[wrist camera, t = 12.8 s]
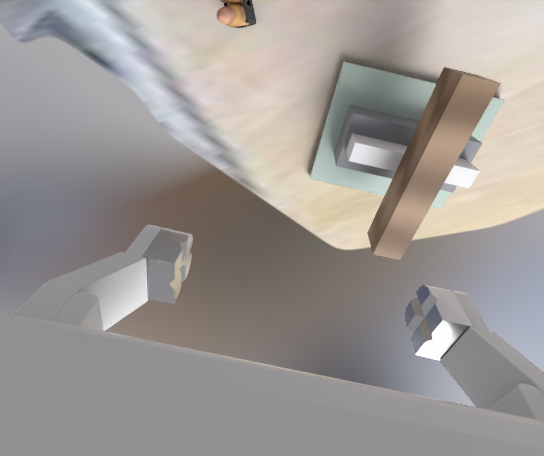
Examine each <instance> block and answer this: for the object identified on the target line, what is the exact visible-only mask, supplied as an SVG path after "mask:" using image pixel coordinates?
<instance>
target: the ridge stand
mask: <svg viewBox="0 0 544 456" xmlns="http://www.w3.org/2000/svg"><path fill="white" fill-rule="evenodd" d="M436 84H437V83H434V82H430V81H426V80H421V79H417V78H413V77H409V76H405V75H400V74H396V73H392V72H388V71H384V70H379V69H375V68H371V67H367V66H363V65H358V64H354V63H350V62H346V61H343V63H342V67H341V70H340V74H339V77H338V81H337V84H336V87H335V91H334V94H333V98H332V101H331V105H330V108H329V111H328V115H327V118H326V122H325V125H324V128H323V132H322V135H321V139H320V142H319V146H318V149H317V152H316V156H315V159H314V163H313V166H312V169H311V173H310V179H312V180H316V181H321V182H325V183H330V184H334V185H339V186H343V187H348V188H352V189H356V190H361V191H365V192H370V193H374V194H379V195H383V196H385V194H386V192H387V190H388V188H389V185H390V183H391V181H392V179H393V177H394V175H395V172H396V170H397V168H398V166H399V164H400V162H401V159H402V157H403V155H404V153H405V151H406V149H407V146H408V144H409V142H410V140H411V138H412V136H413V133H414V131H415V129H416V127H417V125H418V123H419V121H420V118H421V116H422V114H423V112H424V110H425V108H426V105H427V103H428V101H429V99H430V97H431V95H432V92H433V90H434V88H435V86H436ZM504 102H505V100H503V99H500V98H497V97H493V98H492V100H491V101H490V103H489V105H488V107H487V109H486V110H485V112H484V114H483V116H482V117H481V119H480V121H479V123H478V124H477V126H476V128H475V130H474V131H473V133H472V135H471V137H470V138H469V140H468V142H467V144H466V145H465V147H464V149H463V151H462V152H461V154H460V156H459V158H458V159H457V161H456V163H455V165H454V166H453V168H452V170H451V172H450V173H449V175H448V177H447V179H446V180H445V182H444V184H443V186H442V187H441V189H440V191H439V193H438V194H437V196H436V198H435V200H434V201H433V203H432V205H431V206H432V207H436V208H442V206H443V204H444V202H445V201H446V199H447V197H448V196H449V194H450V192H452V193H453V191H454V190H455V188H456V186H461V187H465V188H470V186H471V184H472V183H473V181H474V180H475V178H476V176H477V175H478V173H479V172H480V171H479V170H478V169H477V168H476V167H475V166H474V165H473V164H471V161H472V160H473V158H474V156H475V155H476V153H477V151H478V150H479V148H480V146H481V145H482V143H481V140H482V139H483V137H484V135H485V133H486V132H487V130H488V128H489V127H490V125H491V123H492V122H493V120H494V118H495V117H496V115H497V113H498V112H499V110H500V108H501V107H502V105H503V103H504Z"/></svg>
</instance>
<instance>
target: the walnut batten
mask: <svg viewBox="0 0 544 456" xmlns="http://www.w3.org/2000/svg"><path fill="white" fill-rule="evenodd" d="M500 84H501V83H498V82H495V81H492V80H489V79H487V78H484V77H481V76H478V75H474V74H470V73H466V72H462V71H458V70H454V69H450V68H445V67H444V69H443V71H442V73H441V75H440V77H439V79H438V82H437V84H436V86H435V88H434V90H433V92H432V95H431V97H430V99H429V101H428V103H427V105H426V108H425V110H424V112H423V114H422V116H421V118H420V121H419V123H418V125H417V127H416V129H415V131H414V133H413V136H412V138H411V140H410V142H409V144H408V146H407V149H406V151H405V153H404V155H403V157H402V159H401V162H400V164H399V166H398V168H397V170H396V172H395V175H394V177H393V179H392V181H391V183H390V185H389V188H388V190H387V192H386V194H385V196H384V198H383V200H382V203H381V205H380V207H379V209H378V211H377V213H376V216H375V218H374V220H373V222H372V224H371V226H370V229H369V231H368V237H369V240H370V244H371V248H372V251H373V254H375V255H380V256H385V257H389V258H394V259H398V260H400V259H401V257H402V256H403V254H404V252H405V250H406V249H407V247H408V245H409V243H410V242H411V240H412V238H413V236H414V235H415V233H416V231H417V229H418V228H419V226H420V224H421V222H422V221H423V219H424V217H425V215H426V214H427V212H428V210H429V208H430V207H431V205H432V203H433V201H434V200H435V198H436V196H437V194H438V193H439V191H440V189H441V187H442V186H443V184H444V182H445V180H446V179H447V177H448V175H449V173H450V172H451V170H452V168H453V166H454V165H455V163H456V161H457V159H458V158H459V156H460V154H461V152H462V151H463V149H464V147H465V145H466V144H467V142H468V140H469V138H470V137H471V135H472V133H473V131H474V130H475V128H476V126H477V124H478V123H479V121H480V119H481V117H482V116H483V114H484V112H485V110H486V109H487V107H488V105H489V103H490V101H491V100H492V98H493V96H494V94H495V93H496V91H497V89H498V87H499V86H500Z"/></svg>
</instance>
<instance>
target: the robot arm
mask: <svg viewBox="0 0 544 456" xmlns="http://www.w3.org/2000/svg"><path fill="white" fill-rule="evenodd" d="M192 238H193V237H192V235H191V234H187V233H183V232H179V231H175V230H171V229H167V228H162V227H157V226H153V225H147V226H145V228H144V229H143V230H142V231H141V233H140V234H139V235H138V237H137V238H136V239H135V240H134V242H133V243H132V244H131V245H130V247H129V248H128V249H127V251H126V252H125V253H121V252H120V253H117V254H115V255H112V256H110V257H107V258H105V259H102V260H100V261H97V262H95V263H93V264H90V265H87V266H85V267H82V268H80V269H77V270H75V271H72V272H70V273H68V274H65V275H63V276H60V277H58V278H55V279H53V280H50V281H48V282H46V283H44V284H43V285H42V286H41V287H40V288H39V289H38V290H37V291H36V292H35V293H34V294H33V295H32V296H31V297H30V298H29V299H28V300H27V301H26V302H25V303H24V304H23V305H22V306H21V307H20V308H19V309H18V310H17V311H16V312H15V313H12V312H7V311H2V310H0V456H544V372H542V371H541V370H540V369H539V368H538V367H536V366H535V365H534V364H533V363H532V362H530V361H529V360H528V359H527V358H525V357H524V356H523V355H522V354H521V353H519V352H518V351H517V350H516V349H514V348H513V347H512V346H511V345H510V344H508V343H507V342H506V341H505V340H504V339H502V338H501V337H500V336H499V335H497V334H496V333H495V332H493V331H490V330H489V329H488V327H487V325H486V323H485V322H484V320H483V318H482V317H481V315H480V313H479V311H478V310H477V308H476V306H475V305H474V303H473V301H472V299H471V298H470V296H469V295H468V294H466V293H463V292H458V291H453V290H451V291H450V290H446V289H441V288H436V287H432V286H427V285H422V286H421V287H419V288H418V290H417V291H416V295H417V298H415V299H413V300H411V301H410V302H409V304H408V305H407V307H406V311H405V322H406V325H407V327H408V328H409V330H410V331H411V332H412V333H413V334H412V336H411V341H412V344H413V347H414V350H415V353H416V355H420V356H425V357H429V358H433V359H437V360H440V362H441V363H442V365H443V366H444V367H445V369H446V370H447V371H448V372H449V374H450V375H451V376H452V377H453V379H454V380H455V381H456V382H457V384H458V385H459V386H460V387H461V388H462V390H463V391H464V392H465V393H466V395H467V396H468V397H469V398H470V400H471V401H472V402H473V403H474V405H475V406H476V407H473V406H467V405H463V404H458V403H453V402H448V401H443V400H439V399H434V398H429V397H424V396H419V395H414V394H409V393H404V392H399V391H395V390H389V389H385V388H380V387H375V386H370V385H365V384H360V383H355V382H351V381H345V380H341V379H336V378H331V377H326V376H321V375H316V374H311V373H306V372H301V371H297V370H291V369H287V368H282V367H277V366H272V365H267V364H262V363H257V362H253V361H248V360H243V359H238V358H233V357H228V356H223V355H218V354H213V353H208V352H203V351H199V350H194V349H189V348H184V347H179V346H174V345H169V344H164V343H159V342H154V341H150V340H144V339H140V338H135V337H130V336H125V335H120V334H115V333H110V332H105V330H106V329H108V328H109V327H111V326H112V325H114V324H115V323H117V322H118V321H119V320H121V319H122V318H124V317H125V316H127V315H128V314H130V313H131V312H132V311H134V310H135V309H137V308H138V307H140V306H141V305H142V304H144V303H145V302H147V301H148V299H149V300H154V301H160V302H165V303H171V304H174V302H175V300H176V298H177V296H178V294H179V292H180V289H181V282H182V281H184V280H185V279H186V276H187V274H188V271H189V268H190V263H191V256H192V254H191V252H190V251H189V250H190V247H191V246H192Z"/></svg>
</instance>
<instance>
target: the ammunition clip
mask: <svg viewBox="0 0 544 456" xmlns="http://www.w3.org/2000/svg"><path fill="white" fill-rule="evenodd" d="M221 1H222V2H224V6H225V7H222V8H220V9H219V10H218V12H217V19H218V20H219V21H220V22H221V23H223V24H226V25H228V26H230V27H236V28H243V27H246V26H250V25H254V24H256V18H255V14H254V9H253V4H252V0H221ZM227 3H229V5H228V4H227Z"/></svg>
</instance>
